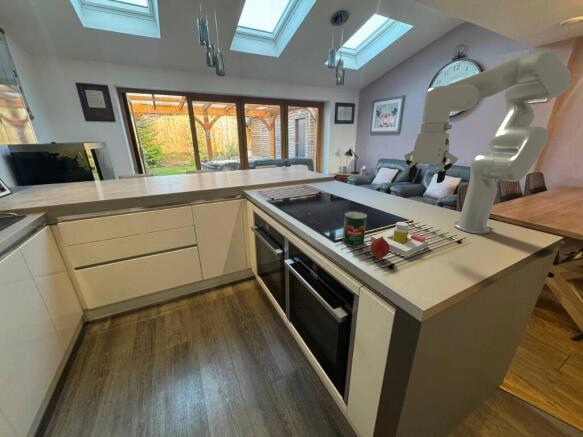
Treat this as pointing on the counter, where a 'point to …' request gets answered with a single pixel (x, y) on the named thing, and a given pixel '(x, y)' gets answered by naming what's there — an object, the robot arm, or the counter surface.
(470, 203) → the robot arm
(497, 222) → the counter surface
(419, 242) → the socket plate
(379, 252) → the onion
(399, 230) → the supplement bottle
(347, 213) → the canned tomato
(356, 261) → the counter surface
